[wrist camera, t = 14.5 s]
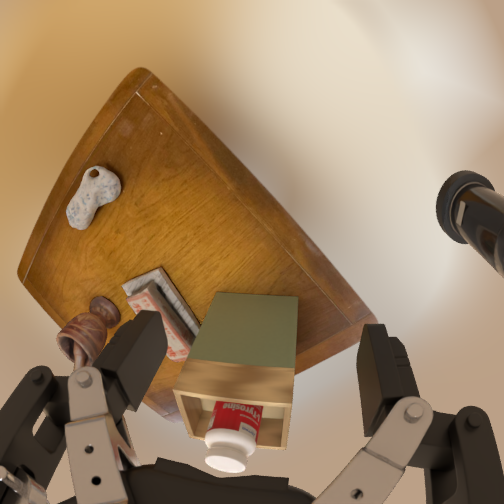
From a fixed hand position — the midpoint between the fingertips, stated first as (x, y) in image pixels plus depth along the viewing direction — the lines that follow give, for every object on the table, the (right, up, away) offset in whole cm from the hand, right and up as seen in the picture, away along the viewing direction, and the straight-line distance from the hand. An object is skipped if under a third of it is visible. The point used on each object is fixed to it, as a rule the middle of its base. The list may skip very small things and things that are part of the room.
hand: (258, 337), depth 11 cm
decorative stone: (-26, +13, +36) cm, 46 cm away
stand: (+1, -9, +41) cm, 42 cm away
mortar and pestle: (-30, -10, +47) cm, 57 cm away
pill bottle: (-2, -16, +26) cm, 31 cm away
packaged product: (-16, -8, +44) cm, 47 cm away
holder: (-2, -16, +27) cm, 31 cm away
